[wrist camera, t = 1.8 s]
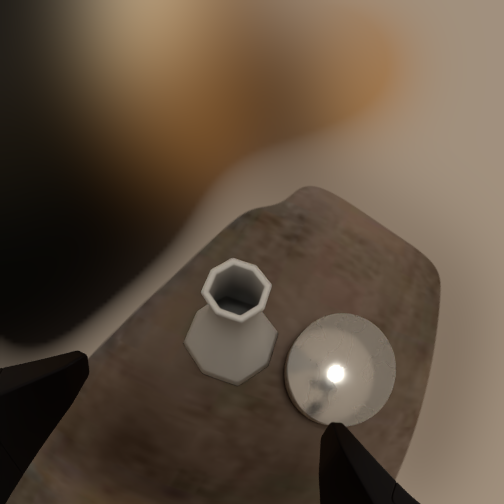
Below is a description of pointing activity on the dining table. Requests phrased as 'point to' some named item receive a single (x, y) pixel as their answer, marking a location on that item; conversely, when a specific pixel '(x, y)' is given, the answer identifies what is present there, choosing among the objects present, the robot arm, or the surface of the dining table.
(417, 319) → the dining table surface
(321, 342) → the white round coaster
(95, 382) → the dining table surface
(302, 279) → the dining table surface
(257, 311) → the flask
